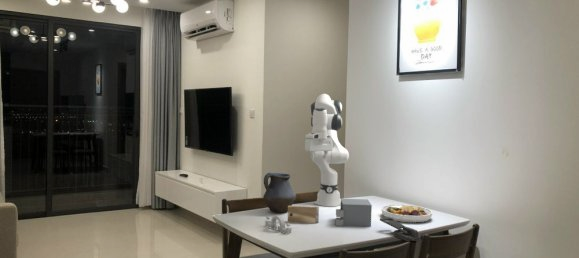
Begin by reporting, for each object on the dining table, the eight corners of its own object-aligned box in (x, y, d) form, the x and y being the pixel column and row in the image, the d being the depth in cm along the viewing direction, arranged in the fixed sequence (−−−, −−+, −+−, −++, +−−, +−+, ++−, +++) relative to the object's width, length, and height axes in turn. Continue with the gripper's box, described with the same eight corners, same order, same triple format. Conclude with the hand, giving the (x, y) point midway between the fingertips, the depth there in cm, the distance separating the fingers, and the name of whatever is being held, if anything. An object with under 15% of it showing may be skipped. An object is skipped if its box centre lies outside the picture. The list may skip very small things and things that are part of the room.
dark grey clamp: (390, 216, 255) (424, 227, 233) (390, 228, 255) (423, 240, 233) (377, 218, 250) (411, 229, 228) (377, 230, 250) (410, 242, 229)
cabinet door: (287, 221, 264) (288, 205, 264) (318, 222, 264) (318, 206, 263) (287, 222, 261) (287, 207, 261) (318, 223, 260) (319, 208, 260)
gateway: (265, 226, 253) (265, 212, 252) (268, 226, 254) (268, 211, 254) (287, 235, 238) (287, 220, 237) (291, 234, 239) (291, 219, 239)
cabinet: (334, 218, 274) (334, 198, 274) (367, 219, 274) (367, 199, 273) (336, 225, 257) (336, 204, 256) (371, 227, 256) (372, 205, 255)
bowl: (373, 212, 293) (374, 200, 292) (417, 211, 299) (417, 199, 298) (393, 225, 263) (394, 211, 263) (441, 223, 269) (442, 210, 269)
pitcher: (302, 213, 286) (303, 173, 284) (273, 217, 273) (274, 175, 271) (282, 206, 302) (283, 169, 301) (254, 210, 289) (255, 171, 288)
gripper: (327, 135, 280) (327, 157, 280) (303, 135, 267) (302, 159, 267) (335, 135, 275) (334, 158, 276) (310, 135, 262) (310, 159, 262)
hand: (318, 158), depth 271 cm, fingers open, 8 cm apart
